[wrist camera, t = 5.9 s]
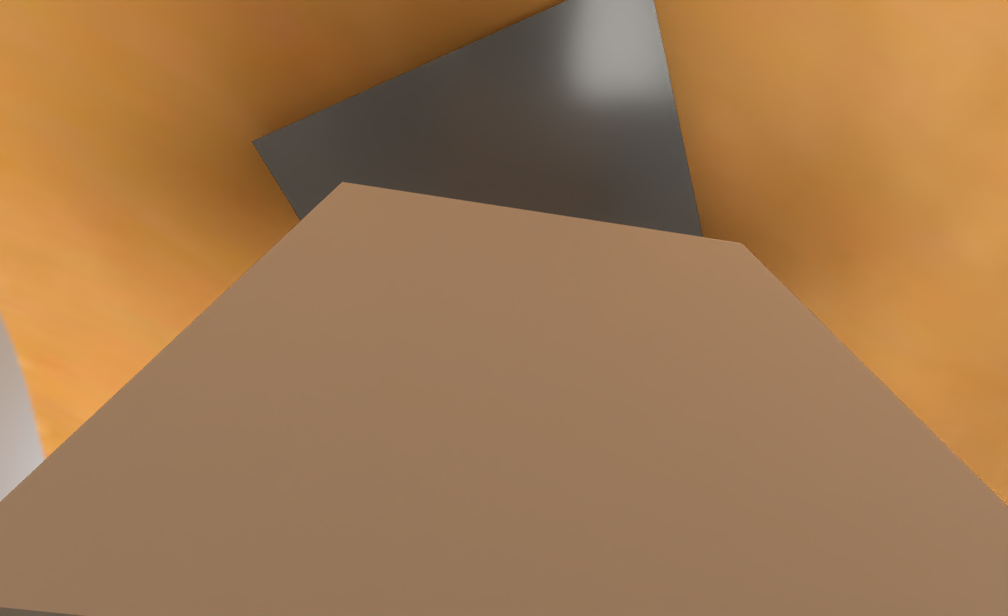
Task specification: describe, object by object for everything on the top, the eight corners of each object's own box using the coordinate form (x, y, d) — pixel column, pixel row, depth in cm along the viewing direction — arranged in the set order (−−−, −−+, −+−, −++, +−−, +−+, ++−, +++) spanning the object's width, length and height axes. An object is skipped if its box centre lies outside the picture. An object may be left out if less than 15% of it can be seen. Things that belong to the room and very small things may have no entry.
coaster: (716, 325, 16) (723, 336, 15) (428, 411, 18) (426, 422, 17) (640, -33, 11) (646, -35, 11) (262, 136, 13) (251, 141, 13)
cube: (741, 243, 8) (1236, 734, 2) (632, 504, 11) (744, 975, 5) (342, 182, 7) (-100, 594, 2) (345, 470, 10) (168, 937, 5)
